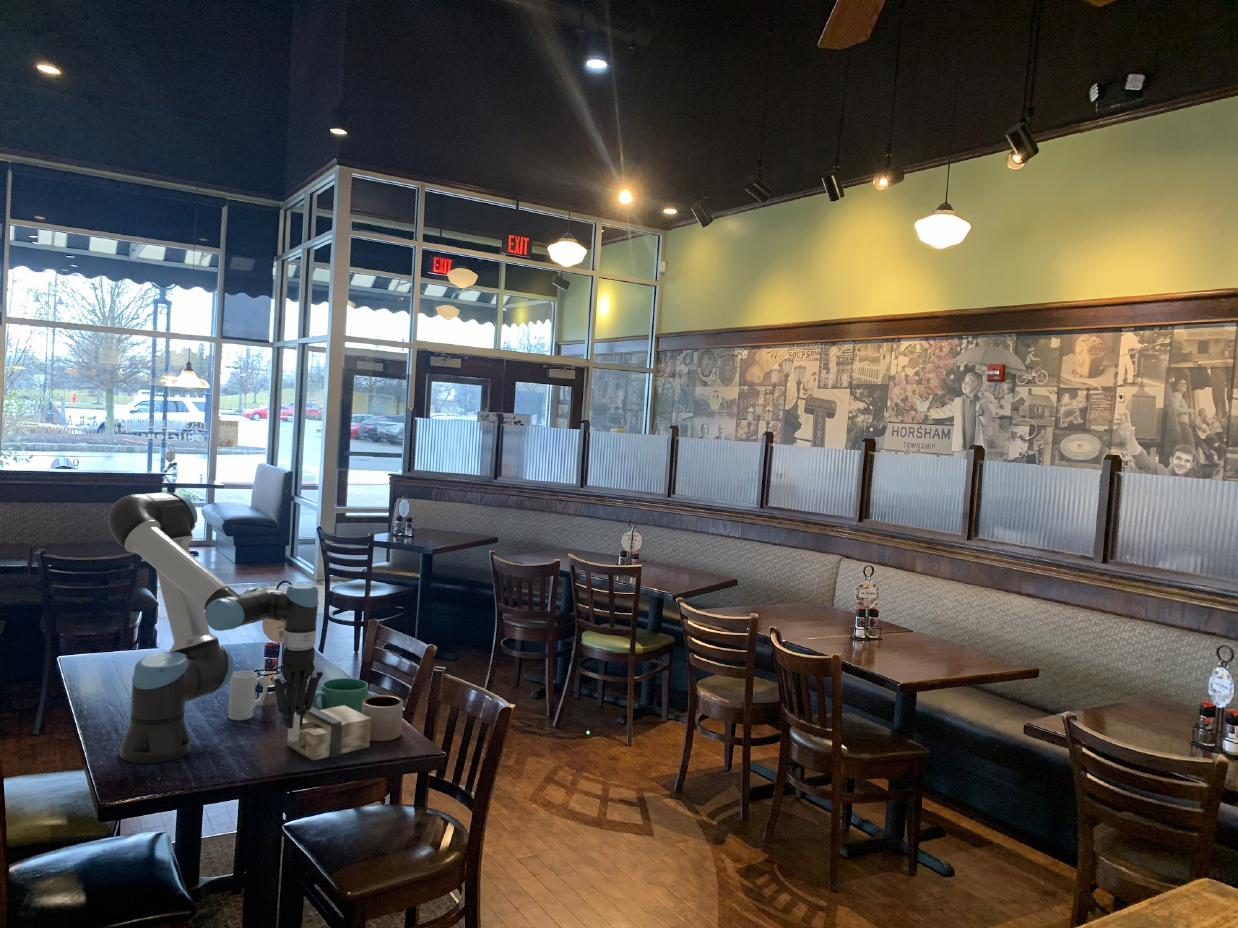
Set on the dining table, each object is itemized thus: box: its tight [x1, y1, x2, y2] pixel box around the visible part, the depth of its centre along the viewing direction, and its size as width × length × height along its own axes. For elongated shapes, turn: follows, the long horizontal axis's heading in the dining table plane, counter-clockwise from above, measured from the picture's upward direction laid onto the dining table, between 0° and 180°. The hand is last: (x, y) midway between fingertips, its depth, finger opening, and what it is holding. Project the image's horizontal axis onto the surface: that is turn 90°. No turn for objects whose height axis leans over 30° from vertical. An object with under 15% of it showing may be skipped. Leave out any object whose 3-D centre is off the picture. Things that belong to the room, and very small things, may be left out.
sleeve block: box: [286, 705, 371, 761], centre depth 226 cm, size 16×15×9 cm
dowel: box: [292, 726, 323, 747], centre depth 224 cm, size 14×4×4 cm, turn 139°
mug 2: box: [312, 677, 369, 713], centre depth 248 cm, size 17×12×10 cm
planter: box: [362, 694, 404, 743], centre depth 236 cm, size 11×11×10 cm
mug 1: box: [227, 670, 268, 721], centre depth 243 cm, size 10×7×12 cm, turn 127°
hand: (293, 739), depth 218 cm, fingers closed
